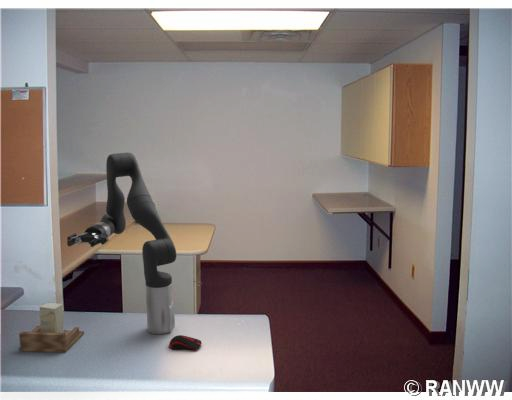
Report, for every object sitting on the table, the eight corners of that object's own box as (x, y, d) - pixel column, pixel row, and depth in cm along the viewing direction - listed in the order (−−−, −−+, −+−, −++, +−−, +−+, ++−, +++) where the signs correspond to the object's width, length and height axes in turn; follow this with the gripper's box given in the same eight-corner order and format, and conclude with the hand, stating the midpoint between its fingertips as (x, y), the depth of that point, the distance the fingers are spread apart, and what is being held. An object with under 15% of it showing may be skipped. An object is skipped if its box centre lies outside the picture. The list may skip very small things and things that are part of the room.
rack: (84, 333, 177) (83, 317, 176) (65, 352, 163) (64, 335, 162) (40, 331, 178) (39, 316, 177) (19, 350, 164) (17, 333, 163)
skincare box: (40, 340, 169) (38, 306, 167) (49, 334, 174) (47, 301, 171) (56, 342, 168) (54, 308, 166) (65, 337, 172) (62, 303, 170)
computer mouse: (199, 352, 164) (198, 341, 163) (166, 350, 165) (166, 339, 164) (203, 343, 170) (202, 332, 169) (171, 342, 171) (171, 331, 170)
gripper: (79, 223, 198) (60, 233, 182) (114, 224, 196) (98, 234, 180) (80, 242, 199) (61, 253, 183) (115, 242, 198) (99, 254, 182)
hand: (80, 244), depth 182 cm, fingers open, 8 cm apart
